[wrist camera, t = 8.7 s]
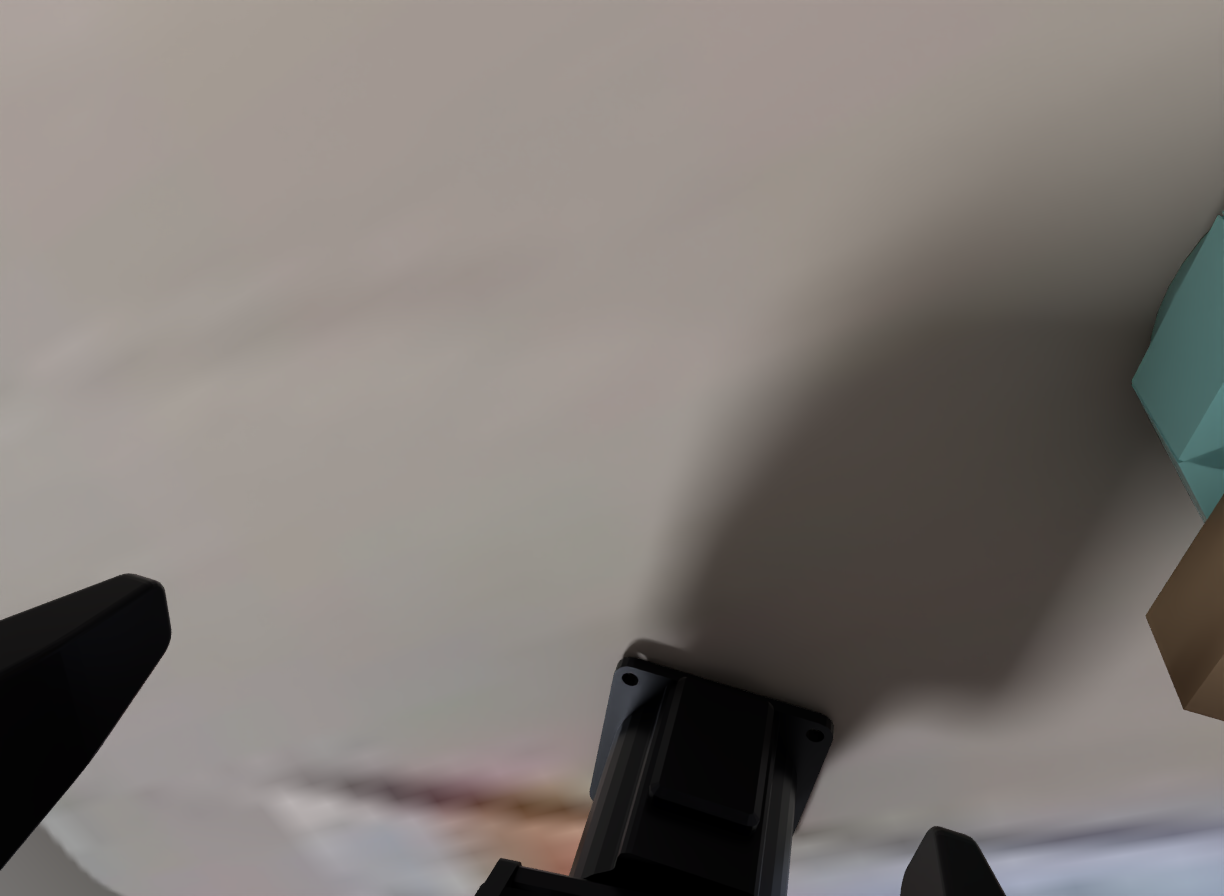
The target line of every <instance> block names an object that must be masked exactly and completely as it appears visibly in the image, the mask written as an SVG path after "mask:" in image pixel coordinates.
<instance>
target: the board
mask: <svg viewBox="0 0 1224 896" xmlns="http://www.w3.org/2000/svg"><path fill="white" fill-rule="evenodd" d="M1146 618H1147V621H1148V623H1149V626H1150V628H1151V631H1152V633H1153V635H1154V638H1155V640H1156V643H1157V645H1158V648H1159V650H1160V653H1161V655H1162V658H1163V660H1164V662H1165V665H1166V667H1167V670H1168V672H1169V675H1170V677H1171V680H1172V682H1173V685H1174V687H1175V689H1176V692H1177V694H1178V697H1179V699H1180V702H1181V704H1182V707H1183V709H1184V710H1187V711H1191V712H1194V713H1198V714H1201V715H1205V716H1208V717H1212V718H1215V719H1219V720H1222V721H1224V494H1223V495H1222V497H1221V499H1220V500H1219V502H1218V503H1217V505H1216V506H1215V508H1214V510H1213V511H1212V513H1211V514H1210V516H1209V517H1208V519H1207V520H1206V522H1205V524H1204V525H1203V527H1202V528H1201V530H1200V531H1199V533H1198V535H1197V536H1196V538H1195V539H1194V541H1193V542H1192V544H1191V545H1190V547H1189V549H1188V550H1187V552H1186V553H1185V555H1184V556H1183V558H1182V559H1181V561H1180V563H1179V564H1178V566H1177V567H1176V569H1175V570H1174V572H1173V574H1172V575H1171V577H1170V578H1169V580H1168V581H1167V583H1166V584H1165V586H1164V588H1163V589H1162V591H1161V592H1160V594H1159V595H1158V597H1157V598H1156V600H1155V602H1154V603H1153V605H1152V606H1151V608H1150V609H1149V611H1148V613H1147V614H1146Z"/></svg>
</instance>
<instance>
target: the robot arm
mask: <svg viewBox="0 0 1224 896" xmlns="http://www.w3.org/2000/svg"><path fill="white" fill-rule="evenodd" d="M170 639H171V624H170V618H169V612H168V606H167V600H166V594H165V590H164V587H163V586H162V585H161V583H160V582H158V581H156V580H153V579H149V578H146V577H143V576H140V575H137V574H129V573H128V574H122V575H119V576H116V577H114V578H111V579H108V580H106V581H103V582H100V583H98V584H95V585H92V586H90V587H87V588H85V589H82V590H79V591H77V592H74V593H71V594H69V595H66V596H63V597H61V598H58V599H55V600H53V601H50V602H47V603H45V604H42V605H40V606H37V607H34V608H32V609H29V610H26V611H24V612H21V613H18V614H16V615H13V616H10V617H8V618H5V619H2V620H0V870H1V869H2V868H3V867H4V866H5V864H6V863H7V862H8V861H9V860H10V858H11V857H12V856H13V855H14V854H15V852H16V851H17V850H18V849H19V848H20V846H21V845H22V844H23V843H24V842H25V840H26V839H27V838H28V837H29V836H30V834H31V833H32V832H33V831H34V830H35V828H36V827H37V826H38V825H39V824H40V822H41V821H42V820H43V819H44V818H45V816H46V815H47V814H48V813H49V811H50V810H51V809H52V808H53V807H54V805H55V804H56V803H57V802H58V801H59V799H60V798H61V797H62V796H63V795H64V793H65V792H66V791H67V790H68V789H69V787H70V786H71V785H72V784H73V783H74V781H75V780H76V779H77V778H78V776H79V775H80V774H81V773H82V771H83V770H84V769H85V768H86V766H87V765H88V764H89V763H90V761H91V760H92V758H93V757H94V756H95V754H96V753H97V752H98V750H99V749H100V747H101V746H102V745H103V743H104V742H105V740H106V739H107V737H108V736H109V734H110V733H111V731H112V730H113V728H114V727H115V726H116V724H117V723H118V721H119V720H120V718H121V717H122V715H123V714H124V712H125V711H126V709H127V708H128V706H129V705H130V703H131V702H132V700H133V699H134V698H135V696H136V695H137V693H138V692H139V690H140V689H141V687H142V686H143V684H144V683H145V681H146V680H147V678H148V677H149V675H150V674H151V673H152V671H153V670H154V668H155V667H156V665H157V664H158V662H159V661H160V659H161V658H162V656H163V655H164V653H165V652H166V650H167V648H168V645H169V643H170ZM628 673H632V674H634V675H636V676H631V675H629V674H628ZM833 727H834V725H833V723H832V721H831V720H830V719H829V718H828V717H827V716H825V715H823V714H821V713H818V712H814V711H811V710H808V709H804V708H801V707H798V706H794V705H791V704H788V703H784V702H781V701H778V700H774V699H771V698H768V697H764V696H761V695H758V694H754V693H751V692H748V691H744V690H741V689H738V688H734V687H731V686H728V685H724V684H721V683H718V682H714V681H711V680H708V679H704V678H701V677H698V676H694V675H691V674H688V673H684V672H681V671H678V670H674V669H671V668H668V667H664V666H661V665H658V664H654V663H651V662H648V661H644V660H641V659H638V658H632V657H627V658H623V659H622V660H620V661H619V663H618V665H617V667H616V670H615V673H614V677H613V681H612V686H611V691H610V696H609V701H608V705H607V710H606V715H605V720H604V725H603V730H602V734H601V739H600V744H599V749H598V754H597V759H596V763H595V768H594V773H593V778H592V783H591V787H590V797H591V799H592V800H593V804H592V807H591V810H590V813H589V816H588V819H587V822H586V825H585V828H584V831H583V834H582V837H581V840H580V843H579V846H578V849H577V852H576V856H575V859H574V862H573V865H572V868H571V871H570V874H569V876H567V875H562V874H557V873H553V872H548V871H543V870H538V869H533V868H528V867H524V866H522V865H521V862H518V861H513V860H508V859H503V858H500V859H499V861H498V862H497V864H496V865H495V867H494V869H493V870H492V872H491V873H490V875H489V877H488V878H487V880H486V881H485V883H483V884H482V885H481V886H480V888H479V890H478V891H477V893H476V894H475V896H787V888H788V878H789V867H790V856H791V845H792V836H793V834H794V831H795V829H796V827H797V824H798V822H799V820H800V817H801V815H802V812H803V810H804V808H805V805H806V803H807V800H808V798H809V796H810V793H811V791H812V789H813V786H814V784H815V781H816V779H817V777H818V774H819V772H820V769H821V767H822V765H823V762H824V760H825V758H826V755H827V753H828V750H829V748H830V746H831V743H832V741H833ZM811 729H818V730H819V732H817V731H812V730H811ZM900 896H1006V895H1005V893H1004V891H1003V889H1002V888H1001V886H1000V884H999V882H998V880H997V879H996V877H995V875H994V873H993V871H992V870H991V868H990V866H989V864H988V862H987V861H986V859H985V857H984V855H983V853H982V851H981V850H980V848H979V846H978V845H977V843H976V842H975V841H974V840H973V839H972V838H971V837H969V836H967V835H965V834H962V833H959V832H955V831H952V830H949V829H946V828H943V827H940V826H934V827H932V828H930V829H929V830H928V832H927V833H926V835H925V836H924V838H923V840H922V842H921V844H920V845H919V847H918V849H917V851H916V853H915V854H914V856H913V858H912V860H911V862H910V863H909V865H908V867H907V869H906V871H905V874H904V877H903V881H902V886H901V894H900Z"/></svg>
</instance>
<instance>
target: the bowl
mask: <svg viewBox="0 0 1224 896" xmlns="http://www.w3.org/2000/svg"><path fill="white" fill-rule="evenodd" d="M1222 214H1223V216H1220V215H1218V216H1217V218H1216V220H1215V222H1214V224H1213V226H1212V227H1211V229H1210V231H1209V232H1208V233H1207V234H1206V235H1205V236H1204V237H1203V238H1202V239H1201V241H1200V242H1199V243H1198V244H1197V246H1196V247H1195V248H1194V250H1193V251H1192V252H1191V254H1190V255H1189V256H1188V257H1187V259H1186V260H1185V261H1184V263H1183V264H1182V266H1181V267H1180V269H1179V271H1178V272H1177V274H1176V276H1175V277H1174V279H1173V281H1172V283H1171V284H1170V286H1169V288H1168V290H1167V292H1166V294H1165V297H1164V299H1163V301H1162V304H1161V306H1160V308H1159V311H1158V313H1157V317H1156V321H1155V324H1154V328H1153V331H1152V335H1151V342H1150V346H1149V348H1148V350H1147V352H1146V354H1145V356H1144V358H1143V360H1142V362H1141V364H1140V365H1139V367H1138V369H1137V371H1136V373H1135V375H1134V377H1133V379H1132V383H1133V384H1131V385H1132V386H1133V388H1134V390H1135V392H1136V394H1137V396H1138V398H1139V400H1140V402H1141V404H1142V406H1143V408H1144V410H1145V411H1146V413H1147V415H1148V417H1149V419H1150V421H1151V423H1152V425H1153V427H1154V429H1155V431H1156V433H1157V434H1158V436H1159V438H1160V440H1161V442H1162V444H1163V446H1164V448H1165V450H1166V452H1167V454H1168V456H1169V458H1170V459H1171V461H1172V463H1173V465H1174V467H1175V469H1176V471H1177V473H1178V475H1179V477H1180V479H1181V481H1182V482H1183V484H1184V486H1185V488H1186V490H1187V492H1188V494H1189V496H1190V498H1191V500H1192V502H1193V504H1194V506H1195V507H1196V509H1197V511H1198V513H1199V515H1200V517H1201V518H1202V520H1203V522H1204V523H1205V522H1206V520H1207V519H1208V517H1209V516H1210V514H1211V513H1212V511H1213V510H1214V508H1215V506H1216V505H1217V503H1218V502H1219V500H1220V499H1221V497H1222V495H1223V494H1224V211H1222Z"/></svg>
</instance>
